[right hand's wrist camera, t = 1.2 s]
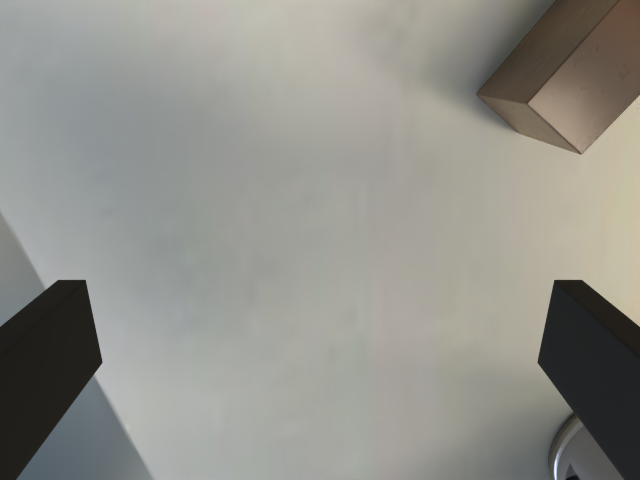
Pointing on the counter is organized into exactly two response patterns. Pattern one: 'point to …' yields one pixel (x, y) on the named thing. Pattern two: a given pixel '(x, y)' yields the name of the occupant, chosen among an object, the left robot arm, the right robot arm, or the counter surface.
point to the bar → (570, 73)
